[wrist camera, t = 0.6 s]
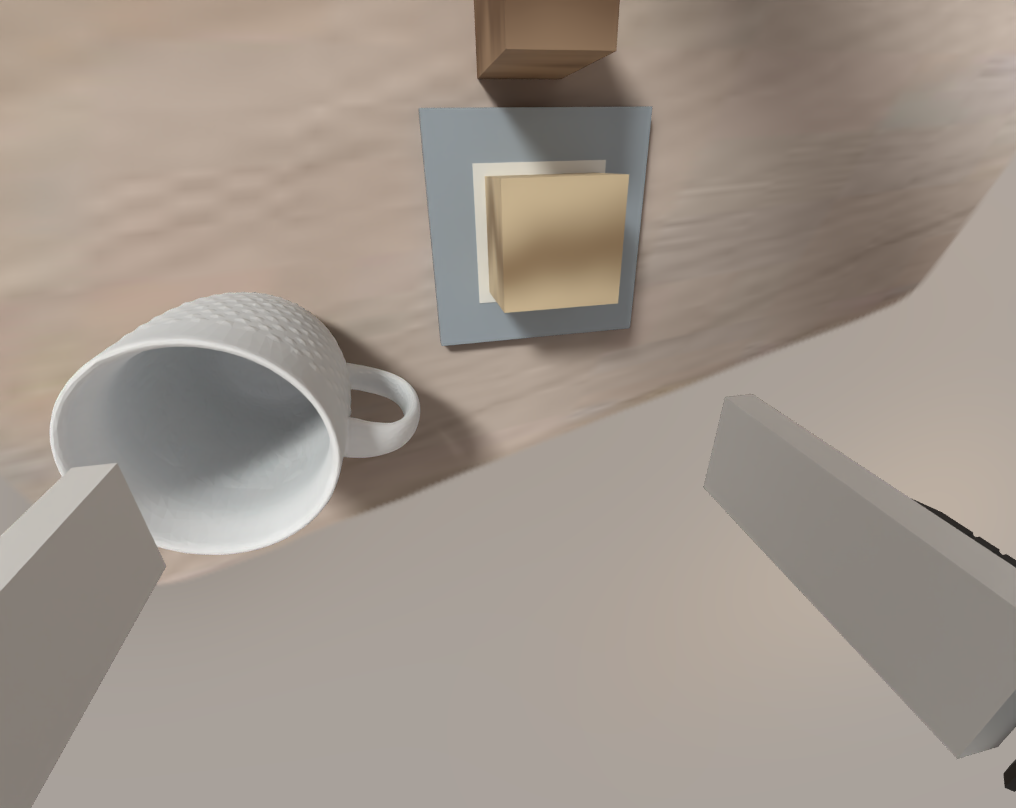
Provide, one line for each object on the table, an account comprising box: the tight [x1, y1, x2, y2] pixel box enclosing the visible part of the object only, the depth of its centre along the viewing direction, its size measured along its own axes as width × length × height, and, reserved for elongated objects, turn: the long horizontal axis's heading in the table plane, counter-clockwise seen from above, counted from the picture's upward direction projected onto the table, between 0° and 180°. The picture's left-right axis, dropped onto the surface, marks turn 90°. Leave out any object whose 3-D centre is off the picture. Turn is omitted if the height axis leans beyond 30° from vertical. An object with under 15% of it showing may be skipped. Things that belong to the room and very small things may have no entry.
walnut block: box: [474, 0, 620, 79], centre depth 23 cm, size 5×5×8 cm
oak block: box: [485, 173, 629, 313], centre depth 28 cm, size 7×7×5 cm
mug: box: [50, 292, 420, 555], centre depth 26 cm, size 15×11×13 cm
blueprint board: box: [419, 107, 652, 346], centre depth 31 cm, size 14×14×1 cm
